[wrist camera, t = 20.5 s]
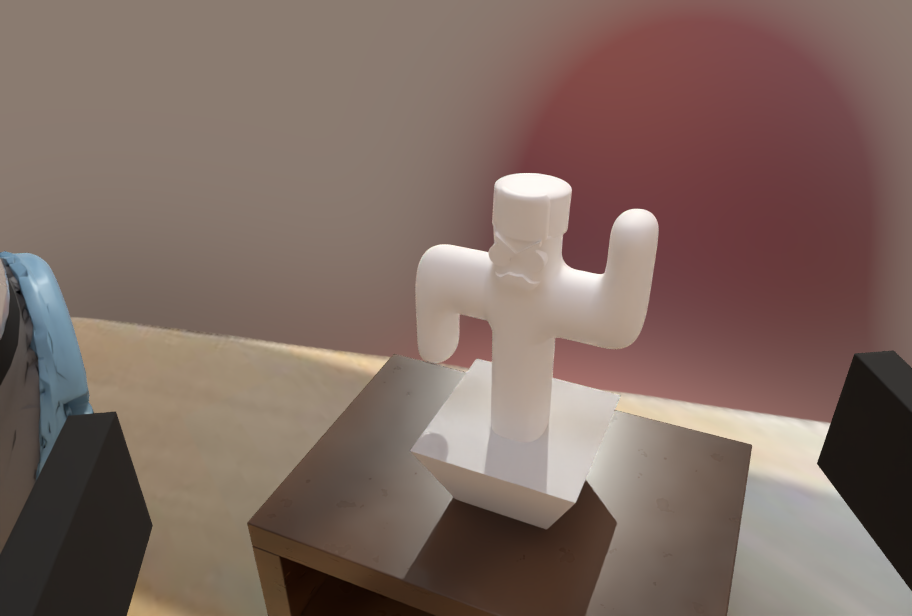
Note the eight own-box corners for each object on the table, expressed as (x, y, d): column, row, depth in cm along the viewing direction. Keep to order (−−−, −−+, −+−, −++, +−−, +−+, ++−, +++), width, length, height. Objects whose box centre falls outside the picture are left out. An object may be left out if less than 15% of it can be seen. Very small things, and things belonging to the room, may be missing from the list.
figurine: (457, 409, 39) (453, 133, 32) (635, 460, 36) (682, 166, 28) (391, 504, 34) (367, 197, 26) (595, 574, 31) (639, 247, 23)
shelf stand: (277, 658, 38) (246, 522, 33) (402, 477, 49) (393, 353, 44) (673, 832, 31) (715, 696, 26) (717, 577, 42) (752, 444, 37)
